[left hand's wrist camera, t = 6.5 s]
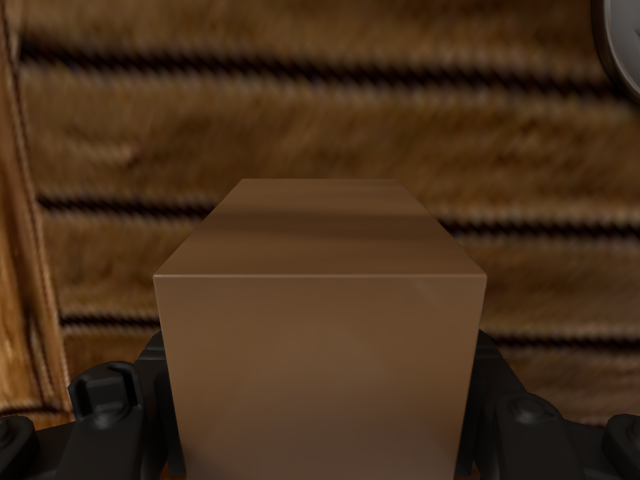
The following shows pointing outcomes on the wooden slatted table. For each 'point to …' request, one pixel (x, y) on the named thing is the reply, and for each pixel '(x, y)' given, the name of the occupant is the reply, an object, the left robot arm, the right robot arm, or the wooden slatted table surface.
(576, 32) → the wooden slatted table surface
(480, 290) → the bar
